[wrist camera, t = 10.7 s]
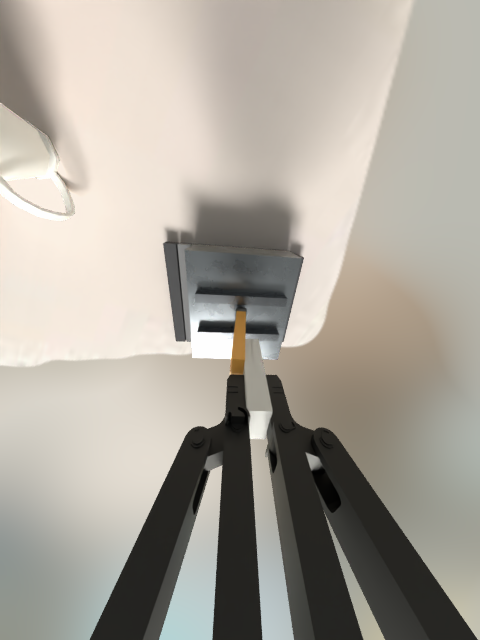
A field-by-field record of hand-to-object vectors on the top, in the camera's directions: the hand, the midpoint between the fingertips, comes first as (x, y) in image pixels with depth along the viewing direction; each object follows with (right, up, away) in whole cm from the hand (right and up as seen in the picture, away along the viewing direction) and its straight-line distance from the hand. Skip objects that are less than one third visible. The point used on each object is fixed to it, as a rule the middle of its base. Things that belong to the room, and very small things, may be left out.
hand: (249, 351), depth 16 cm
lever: (-1, +3, +5) cm, 5 cm away
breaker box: (-1, +6, +10) cm, 12 cm away
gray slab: (-10, +6, +9) cm, 15 cm away
